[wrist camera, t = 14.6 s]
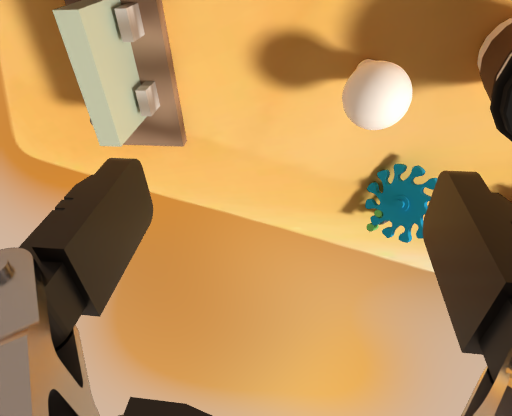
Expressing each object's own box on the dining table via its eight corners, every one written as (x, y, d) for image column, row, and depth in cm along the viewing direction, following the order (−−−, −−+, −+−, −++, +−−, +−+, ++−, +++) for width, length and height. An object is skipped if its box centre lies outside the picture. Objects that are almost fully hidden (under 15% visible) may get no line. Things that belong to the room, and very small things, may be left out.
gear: (409, 147, 42) (460, 219, 39) (429, 146, 46) (476, 211, 43) (344, 195, 50) (382, 259, 47) (365, 191, 54) (402, 249, 51)
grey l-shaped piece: (53, -62, 35) (-36, -56, 26) (149, -67, 34) (90, -62, 25) (116, 138, 49) (72, 187, 40) (186, 140, 47) (157, 191, 39)
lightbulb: (326, 71, 40) (329, 112, 31) (370, 25, 36) (386, 57, 28) (363, 106, 41) (376, 153, 33) (408, 65, 38) (434, 107, 30)
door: (84, -5, 36) (37, 10, 30) (119, -6, 36) (78, 9, 30) (119, 114, 45) (88, 145, 38) (148, 115, 44) (121, 146, 38)
